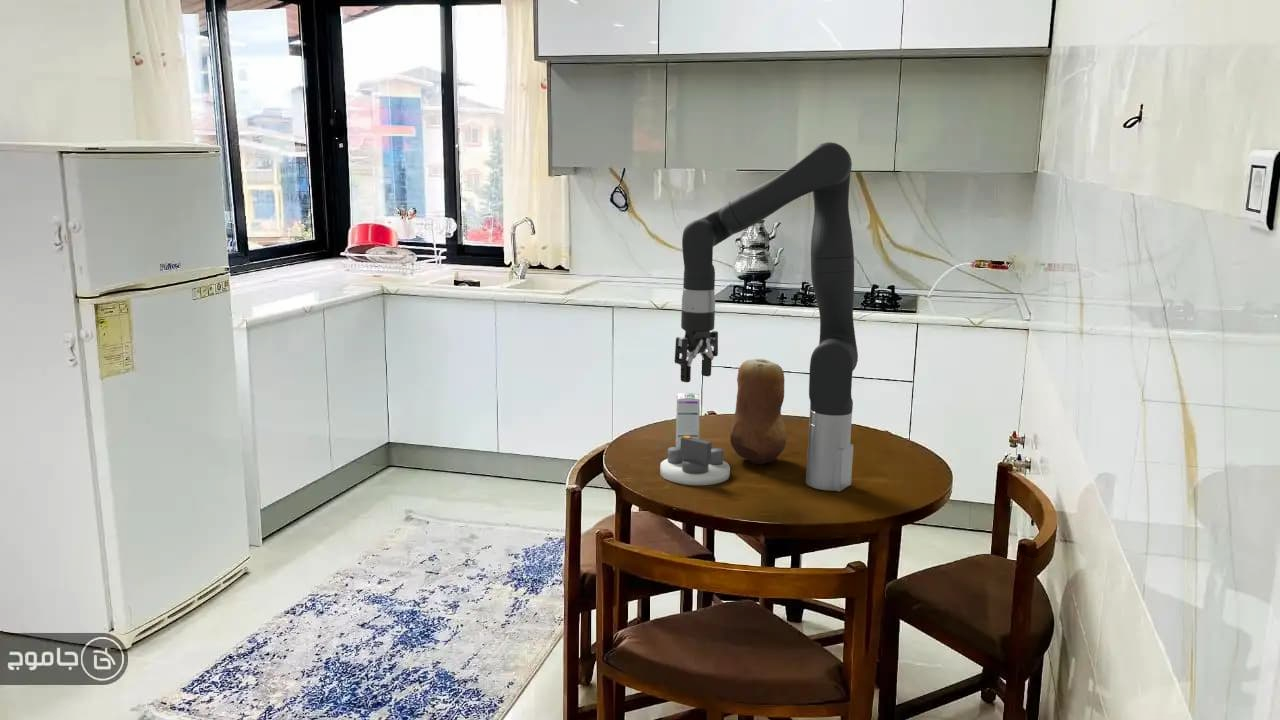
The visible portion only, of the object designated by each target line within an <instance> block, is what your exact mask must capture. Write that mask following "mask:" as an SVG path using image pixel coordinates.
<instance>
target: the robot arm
mask: <svg viewBox="0 0 1280 720" xmlns="http://www.w3.org/2000/svg"><path fill="white" fill-rule="evenodd" d="M852 164H853V163H852V158H851V155H850V152H848V150H847V149H846V148H845V147H844V146H843V145H841V144H838V143H836V142H830V141H828V142H823V143H821V144H819V145H817V146H815V147H814V148H813V149H812V150H811V151H810V152H809V153H808V154H806V156H804V157H802V159H801V160H798V162H796V163H795V164H794V165H792V166H791V167H790V168H788V169H787V170H786V171H783V172H782V173H781V174H778V175H777V176H775V177H773V178H772V179H769V180H767V181H765V182H763V183H761V184H759V185H758V186H755V187H754V188H750V189H749V190H748V191H746V192H744V193H741V194H740V195H738V196H736V197H734V198H733V199H731V200H729V201H728V202H726V203H725V204H723V205H722V206H720V207H719V208H718V209H716V210H714V211H712V212H711V213H708V214H707V215H705V216H703V217H700V218H698V219H695V220H692V221H690V222H689V223H687V224H686V226H685V227H684V228H683V231H682V238H681V239H682V242H681V244H682V245H681V246H682V248H681V249H682V259H683V260H682V261H683V266H684V268H683V269H684V270H683V284H682V285H683V287H682V288H683V289H682V295H681V315H680V316H681V320H680V322H681V324H680V326H681V329H682V330H684V332H685V333H684V337H682V336H681V337H680V336H677V337H675V346H674V347H675V349H674V363H675V364H678V365H680V382H681V383H682V382H683V383H689V382H691V378H692V377H691V374H692V371H691V370H692V363H693V360H694V359H696V357H697V355H699V354H700V356H701V358H702V360H701V376H702V377H708V378H709V377H710V376H711V375H712V365H713V364H712V363H713V362H712V361H713V360H714V357H718V354H719V332H718V331H715V330H714V329H715V317H716V312H715V311H716V296H715V295H716V294H715V292H716V291H715V289H716V288H715V286H716V285H715V283H716V272H715V270H716V269H715V266H714V263H713V261H714V260H713V254H714V251H713V250H714V247H716V246H717V245H718V244H720V243H722V242H723V241H725V240H727V239H728V238H730V237H731V236H733V235H736V234H738V233H740V232H743V231H745V230H747V229H749V228H750V227H752V226H754V225H756V224H757V223H760V222H761V221H762V220H763V221H764V220H765V219H766V218H767V217H769V216H771V215H772V214H773V213H775V212H777V211H778V210H780V209H781V208H784V207H785V206H786V205H789V203H791V202H793V201H795V200H797V199H798V198H801V197H803V196H806V195H808V194H810V193H812V194H813V204H814V205H813V207H814V209H813V210H814V213H813V224H812V229H811V239H810V240H811V241H810V274H811V275H810V276H811V284H812V288H813V293H814V296H815V301H816V304H817V307H818V311H819V325H820V326H819V342H818V345H817V346H816V347H815V348H814V350H813V351H812V353H811V357H810V361H809V373H808V374H809V376H808V377H809V380H808V382H809V383H808V397H809V401H810V404H809V420H808V421H809V422H808V423H809V424H808V425H809V426H808V441H807V457H806V473H805V475H806V476H805V483H806V485H807V486H809V488H810V487H811V488H813V489H816V490H821V491H836V492H841V491H843V490H844V489H846V488H848V487H850V486H851V484H852V475H853V462H854V461H853V460H854V444H852V443H851V434H852V421H853V418H852V417H853V409H854V402H853V397H852V387H853V386H852V383H853V371H854V370H855V369H856V367H857V365H858V359H859V354H858V345H857V340H856V332H855V326H854V298H855V256H854V255H855V254H854V250H855V249H854V241H853V240H854V239H853V232H852V230H853V229H852V224H851V218H850V210H849V197H850V194H849V193H850V182H851V173H852V166H853V165H852ZM680 355H681V356H680Z"/></svg>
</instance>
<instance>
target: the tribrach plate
mask: <svg viewBox="0 0 1280 720" xmlns="http://www.w3.org/2000/svg"><path fill="white" fill-rule="evenodd" d="M680 450H681V448H680V447H676V446H672V447H668V448H667V458H666V459H664V460H662V461H661V462H660V470H659V471H660V472H659V474H660V476H661V478H663V479H664V480H666V481H669V482H672V483H676V484H680V485H689V486H707V485H708V486H711V485H717V484H720V483H721V484H722V483H723V482H726V481H727V480H729V478H730V473H731V467H730V465H729V463H728V462H726V461H724V449H722V448H717V447H715V448H714V447H713V448H712V447H711V463H710V464H709V467H708V472H706V473H702V474H691V473H686V472H684V471H683V470H682V460H681V459H680Z"/></svg>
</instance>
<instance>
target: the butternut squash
mask: <svg viewBox="0 0 1280 720" xmlns="http://www.w3.org/2000/svg"><path fill="white" fill-rule="evenodd" d="M736 383H737V391H736V392H737V393H736V403H735V412H734V415H733V418H732V421H731V423H730V427H729V442H730V444H731V447H732V449H733V451H734V452H735V453H736V454H737V456H739V457H741V458H743V459H746V460H747V461H749V462H751V463H752V464H757V465H758V464H759V465H764V464H766V463H771V462H773V461H775V460H777V458H778V457H779V456H780V455H781V454H782V453H783V452H784V449H785V447H786V444H787V432H786V431H787V429H786V426H785V422H784V420H783V417H782V405H783V403H784V400H785V399H784V398H785V374H784V369H783V368H782V367H781V365H779V364H778V363H776V362H772V361H771V360H767V359H764V358H755V359H754V358H753V359H747V360H744V361H743V362H742V363H741V365H740V366H739V368H738V371H737V378H736Z"/></svg>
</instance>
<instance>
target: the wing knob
mask: <svg viewBox="0 0 1280 720" xmlns="http://www.w3.org/2000/svg"><path fill="white" fill-rule="evenodd" d="M711 448H712V441H708V440H704V439H700V438H699V439H696V438H691V437H690V436H683V438H681V450H680V459H681V460H682V470H683V471H684V472H686V473H691V474H702V473H706V472H708V467H709V464H710V463H711Z"/></svg>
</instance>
